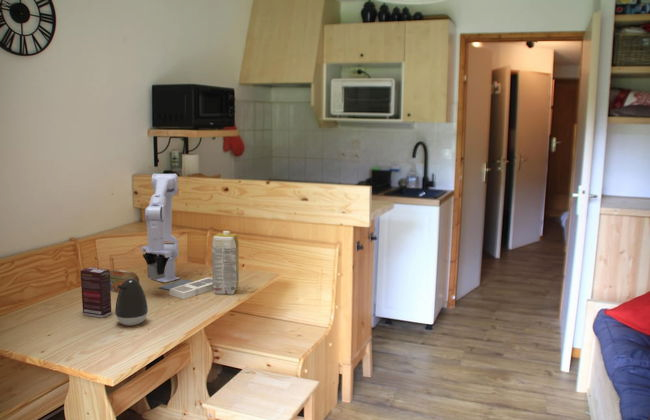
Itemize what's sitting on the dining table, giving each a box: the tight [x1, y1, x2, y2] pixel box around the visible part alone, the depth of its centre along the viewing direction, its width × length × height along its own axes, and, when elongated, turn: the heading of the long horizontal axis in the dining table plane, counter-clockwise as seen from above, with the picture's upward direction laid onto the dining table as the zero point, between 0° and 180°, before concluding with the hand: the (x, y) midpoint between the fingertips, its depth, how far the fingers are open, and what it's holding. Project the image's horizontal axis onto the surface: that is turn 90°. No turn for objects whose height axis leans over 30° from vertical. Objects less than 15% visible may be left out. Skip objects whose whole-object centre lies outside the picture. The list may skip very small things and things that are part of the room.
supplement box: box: [80, 266, 112, 319], centre depth 194 cm, size 9×5×16 cm, turn 71°
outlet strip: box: [168, 276, 214, 300], centre depth 225 cm, size 8×24×3 cm, turn 146°
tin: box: [110, 269, 140, 294], centre depth 220 cm, size 15×3×8 cm, turn 69°
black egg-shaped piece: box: [114, 278, 149, 327], centre depth 187 cm, size 10×10×15 cm
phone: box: [157, 278, 194, 292], centre depth 230 cm, size 7×14×1 cm, turn 151°
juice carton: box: [211, 230, 240, 295], centre depth 221 cm, size 9×8×24 cm
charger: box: [146, 263, 165, 281], centre depth 215 cm, size 4×4×5 cm
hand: (156, 272), depth 215 cm, fingers closed on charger, 4 cm apart
